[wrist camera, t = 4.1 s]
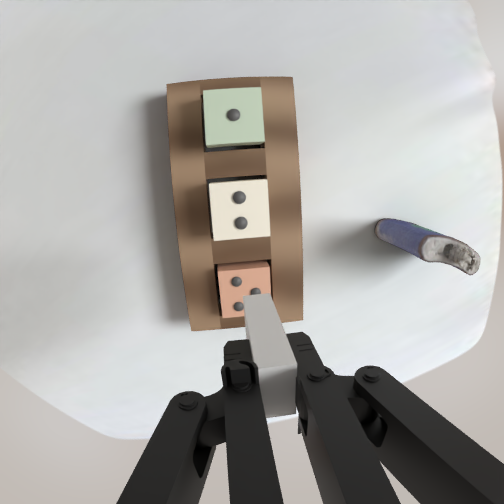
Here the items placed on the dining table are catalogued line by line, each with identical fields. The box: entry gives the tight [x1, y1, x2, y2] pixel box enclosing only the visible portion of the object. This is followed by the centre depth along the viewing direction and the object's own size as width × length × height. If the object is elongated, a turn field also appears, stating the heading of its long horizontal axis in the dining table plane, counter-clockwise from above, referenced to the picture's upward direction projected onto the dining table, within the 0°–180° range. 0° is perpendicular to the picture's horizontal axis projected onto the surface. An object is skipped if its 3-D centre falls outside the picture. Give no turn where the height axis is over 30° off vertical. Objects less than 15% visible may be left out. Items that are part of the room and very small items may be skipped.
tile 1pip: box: [203, 87, 265, 148], centre depth 22 cm, size 4×4×3 cm
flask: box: [375, 218, 480, 275], centre depth 26 cm, size 9×3×11 cm, turn 76°
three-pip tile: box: [218, 260, 271, 318], centre depth 28 cm, size 4×4×3 cm
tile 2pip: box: [209, 179, 270, 241], centre depth 24 cm, size 4×4×3 cm
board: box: [167, 77, 303, 331], centre depth 27 cm, size 23×11×3 cm, turn 4°
